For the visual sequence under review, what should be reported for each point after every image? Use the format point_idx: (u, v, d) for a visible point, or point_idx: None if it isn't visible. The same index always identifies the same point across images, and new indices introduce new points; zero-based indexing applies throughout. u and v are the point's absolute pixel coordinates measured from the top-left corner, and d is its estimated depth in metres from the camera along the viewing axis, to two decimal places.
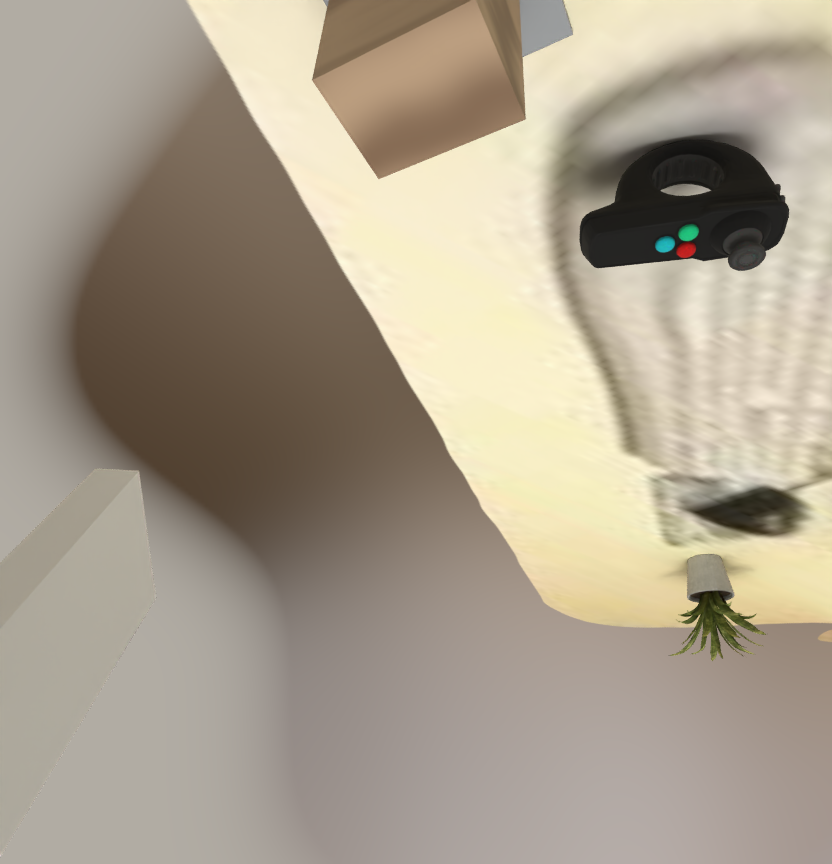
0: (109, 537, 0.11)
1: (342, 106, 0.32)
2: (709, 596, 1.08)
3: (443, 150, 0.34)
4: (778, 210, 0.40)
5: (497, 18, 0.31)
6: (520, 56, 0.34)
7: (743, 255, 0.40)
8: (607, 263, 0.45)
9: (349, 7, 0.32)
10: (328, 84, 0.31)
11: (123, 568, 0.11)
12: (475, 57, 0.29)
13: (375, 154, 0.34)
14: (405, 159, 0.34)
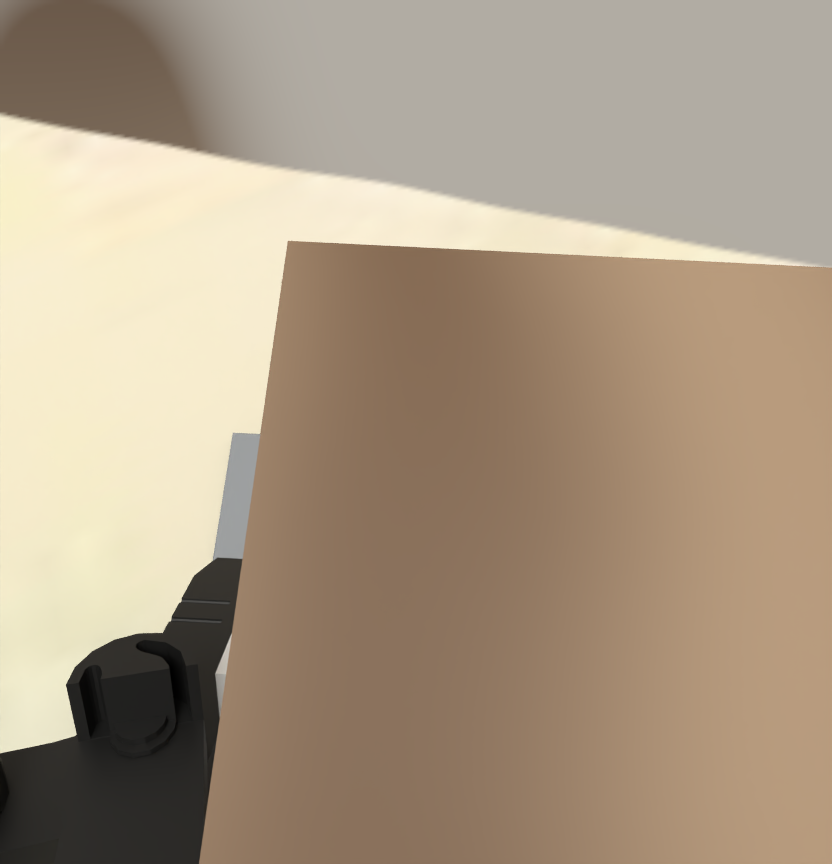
0: None
1: (731, 310, 0.06)
2: None
3: (236, 636, 0.05)
4: None
5: None
6: None
7: None
8: None
9: None
10: None
11: None
12: None
13: (423, 301, 0.06)
14: (315, 412, 0.06)
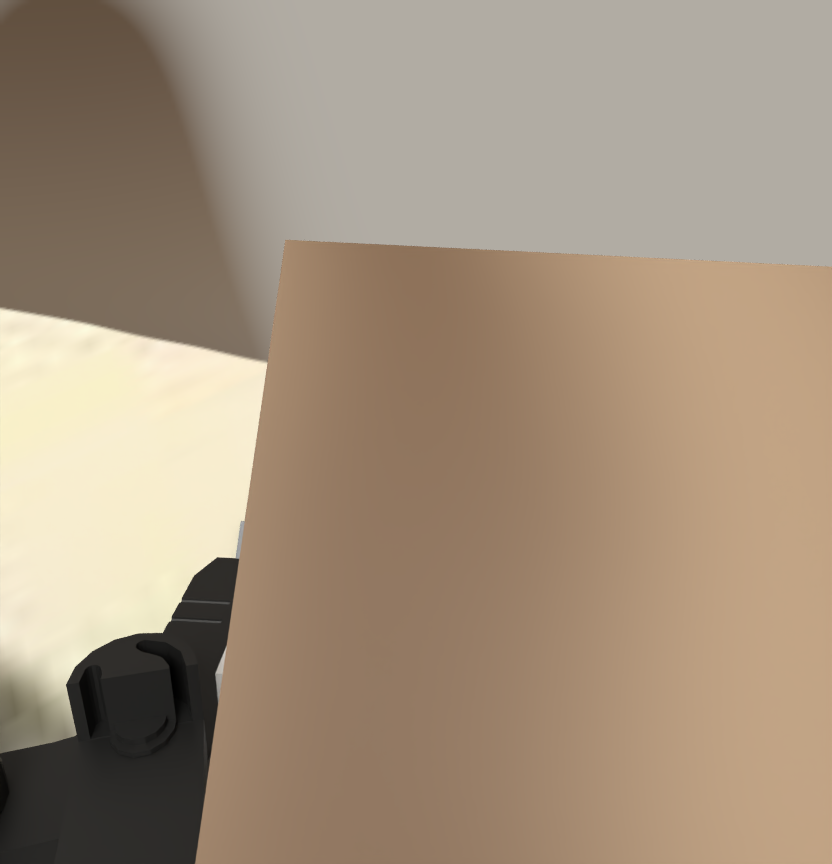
0: None
1: (728, 309, 0.06)
2: None
3: (233, 634, 0.05)
4: None
5: None
6: None
7: None
8: None
9: None
10: None
11: None
12: None
13: (420, 299, 0.06)
14: (313, 410, 0.06)
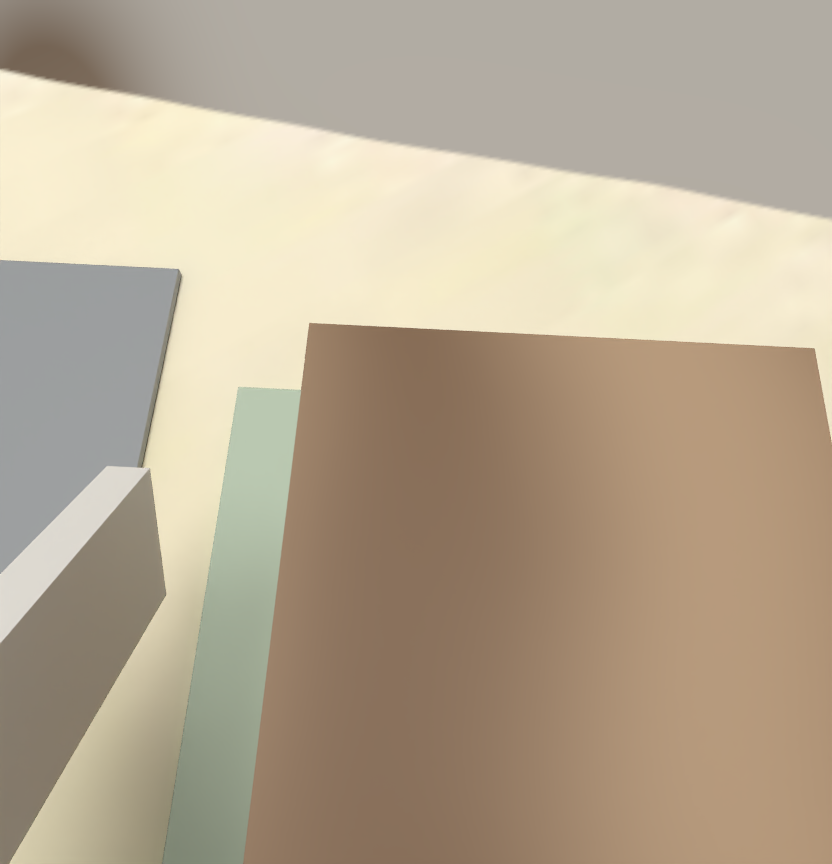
0: (121, 533, 0.11)
1: (674, 382, 0.08)
2: None
3: (272, 652, 0.07)
4: None
5: None
6: None
7: None
8: None
9: None
10: (780, 389, 0.08)
11: (135, 564, 0.11)
12: None
13: (421, 374, 0.08)
14: (334, 469, 0.07)
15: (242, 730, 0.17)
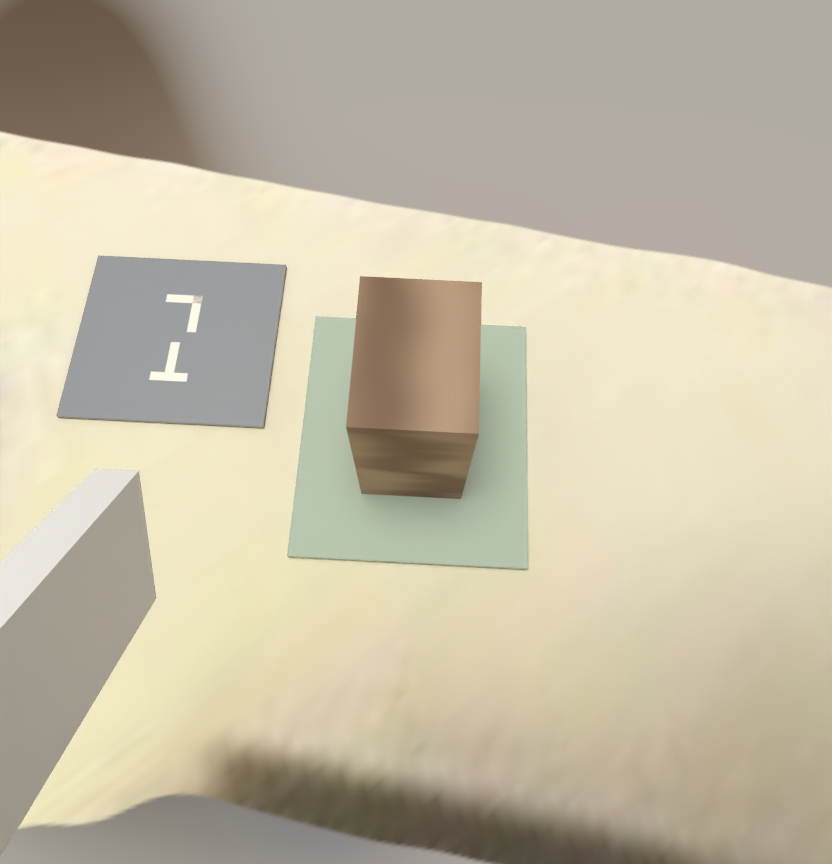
0: (109, 538, 0.11)
1: (446, 290, 0.33)
2: None
3: (354, 345, 0.32)
4: None
5: (421, 451, 0.33)
6: (359, 459, 0.35)
7: None
8: None
9: None
10: (471, 291, 0.33)
11: (123, 568, 0.11)
12: (429, 411, 0.31)
13: (387, 288, 0.33)
14: (366, 308, 0.33)
15: (323, 446, 0.42)
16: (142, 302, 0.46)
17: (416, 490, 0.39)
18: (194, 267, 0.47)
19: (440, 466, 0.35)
